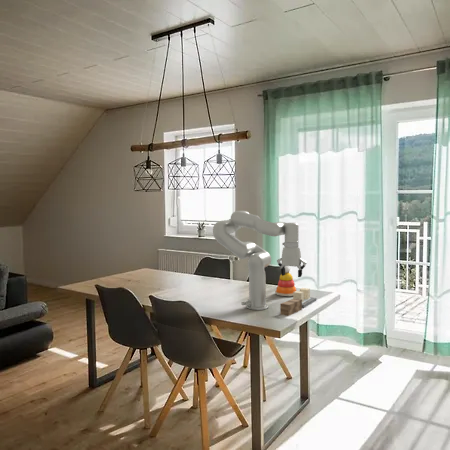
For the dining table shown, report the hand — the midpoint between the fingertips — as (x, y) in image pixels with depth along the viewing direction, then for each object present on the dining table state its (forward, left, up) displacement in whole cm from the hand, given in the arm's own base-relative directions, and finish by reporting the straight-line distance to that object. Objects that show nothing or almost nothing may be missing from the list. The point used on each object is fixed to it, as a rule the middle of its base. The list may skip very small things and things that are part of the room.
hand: (291, 276), depth 238 cm
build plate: (+16, +15, -20) cm, 30 cm away
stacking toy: (+18, +37, -20) cm, 46 cm away
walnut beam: (0, 0, -20) cm, 20 cm away
